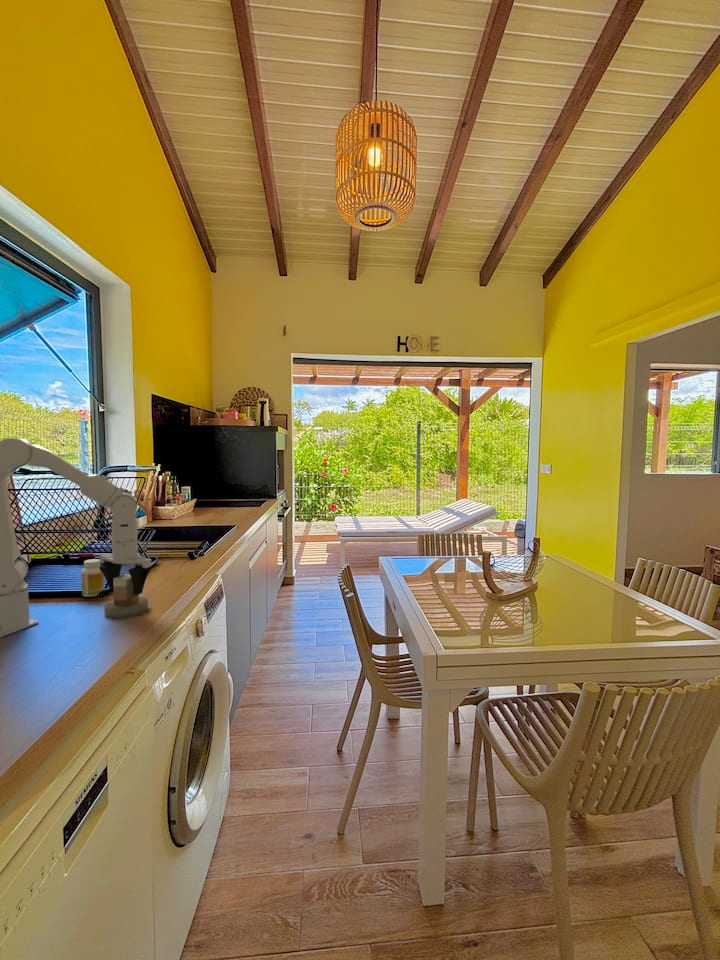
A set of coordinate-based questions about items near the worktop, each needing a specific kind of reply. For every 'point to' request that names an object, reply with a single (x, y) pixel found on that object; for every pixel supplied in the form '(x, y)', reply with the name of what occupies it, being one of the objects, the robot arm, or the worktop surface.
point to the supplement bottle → (92, 578)
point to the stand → (125, 609)
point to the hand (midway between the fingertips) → (126, 592)
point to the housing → (124, 591)
